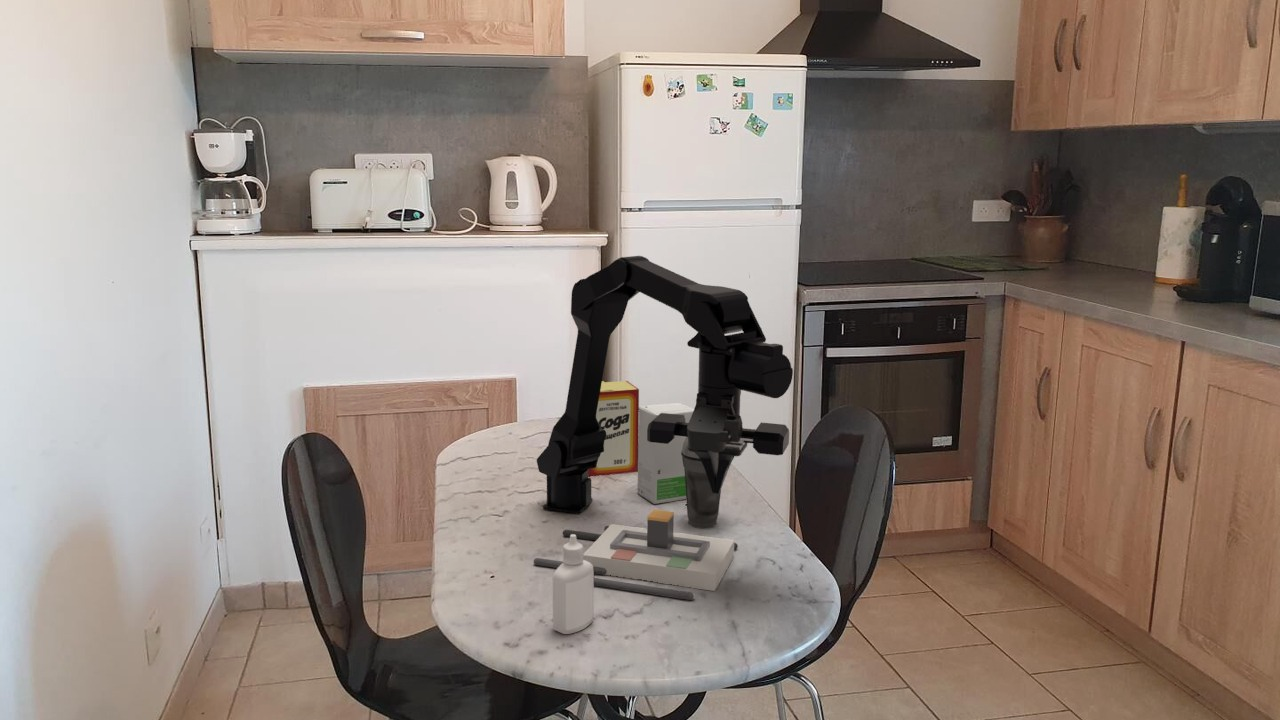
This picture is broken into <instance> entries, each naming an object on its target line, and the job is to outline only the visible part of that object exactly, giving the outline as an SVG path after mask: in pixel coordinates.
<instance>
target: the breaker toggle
mask: <svg viewBox="0 0 1280 720" xmlns="http://www.w3.org/2000/svg"><path fill="white" fill-rule="evenodd" d="M674 515H675V513H674V511H669V510H668V511H667V510H660V509H652V511H651V512H650V513H649V514H648V515H647V519H646V521H647V523H646V524H647V528H646V529H647V546H648V547H655V548H662V549H670V548H671V547H672V545H673V532H674V525H675V524H674V523H675V522H674V517H675V516H674Z"/></svg>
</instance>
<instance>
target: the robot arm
mask: <svg viewBox="0 0 1280 720" xmlns="http://www.w3.org/2000/svg"><path fill="white" fill-rule="evenodd" d="M639 293H641V294H643V295H645V296H647V297H648V298H651V299H653V300H655V301H656V302H659V303H661V304H663V305H665V306H667V307H669V308H670V309H674V311H676V312H679V313H680V314H681V315H682V317H683V319H684V322H685V323H686V324H687V325H688V326H689V327H691V328H692V329H693V330H695V331H696V332H697V333H695V335H694V336H693V337H691V339H689V340H688V341H687V342H686V343H687V346H688V347H690V348H695V349H698V353H699V354H698V379H697V380H698V381H697V382H698V383H697V385H698V387H697V388H698V389H697V393H696V399H695V405H694V406H695V407H694V408H693V409H694V411H693V414H692V416H691V418H690V421H689V423H685V417H684V415H678V414H668V413H660V414H659V415H658V416H657V417H656V418H655V419H654V420H653V421H651V422H650V423H649V425H648V429H647V441H649V442H655V443H664V444H668V443H669V442H671V441H672V440H673V439H674V438H675V436H685V437H688V447H687V448H688V451H690V452H694V453H695V454H696V455H697V456H698V457H699V458H700V460H701V462H702V464H703V466H704V469H705V472H706V475H707V478H708V481H709V484H710V487H711V490H712V493H714V494H719V492H720V490H721V491H722V487H723V485H724V483H725V479H726V477H727V474H728V471H729V470H730V467H731V464H732V462H733V460H734V458H735V457H740V456H742V453H744V451H745V449H746V448H747V447H748V444H752V448H753V449H754V450H755V452H756V453H757V454H760V455H768V456H769V455H770V456H782V455H784V453H785V451H786V449H787V448H788V446H789V444H790V430H789V428H788V426H787V425H786V424H783V423H781V424H780V423H771V422H770V423H769V422H762V421H761V422H760V423H759V425H758V426H757V427H756V428H755V429H751V428H745V427H743V420H742V419H743V418H742V417H741V415H740V413H741V410H740V409H741V395H742V391H745V392H748V393H752V394H756V395H760V396H763V397H767V398H771V399H779V398H781V397H783V396H784V394H785V393H786V392H787V391H788V390H789V388H790V386H791V383H792V380H793V373H794V370H793V369H794V368H792V365H791V364H792V363H791V361H790V359H789V358H788V356H786V355H785V354H784V353H783V352H784V346H783V345H782V344H779V343H766V341H767V338H766V336H765V334H764V332H763V330H762V328H761V326H760V324H759V321H758V320H757V318H756V316H755V313H754V312H753V309H752V307H751V305H750V302H749V298H748V296H747V294H746V293H745V292H743V291H742V290H739V289H736V288H731V287H726V286H719V285H707V284H702V283H698V282H696V281H694V280H691V279H689V278H687V277H685V276H683V275H680V274H678V273H676V272H674V271H672V270H669V269H667V268H665V267H663V266H660V265H659V264H657V263H654V262H652V261H650V260H649V258H647V257H645V256H643V255H633V256H632V255H631V256H630V255H629V256H622V257H618V258H617V259H615V260H613V262H611V263H609V265H608V266H606V267H604V268H602V269H600V270H598V271H596V272H594V273H592V274H590V275H589V276H587V277H586V278H583V279H582V278H581V279H579V280H578V281H577V282H574V284H573V286H572V290H571V300H570V302H571V303H570V314H571V316H572V320H573V321H574V324H575V326H576V328H577V337H576V342H575V348H574V354H573V361H572V367H571V373H570V374H571V375H570V380H569V386H568V393H567V398H566V404H565V410H564V412H563V414H562V415H561V416H560V418H559V419H558V421H557V422H556V423H555V424H554V426H553V427H552V430H551V433H550V437H549V440H548V445H547V446H546V448H545V449H544V450H543V451H542V452H541V453H540V455H539V456H538V457H537V458H536V465H537V470H538V472H539V473H541V474H543V475H545V476H546V502H545V504H543V505H542V509H543V510H546V511H548V510H549V511H553V512H555V511H556V512H563V513H571V514H580V513H581V512H582V511H584V510H585V509H586V508H587V507H588V506H589V504H591V503H592V502H593V498H592V478H591V477H588V469H591V468H596V465H597V462H598V458H599V457H600V454H601V453H602V452H604V441H605V437H606V431H605V430H603V429H601V427H600V425H599V423H598V421H597V419H596V413H597V407H598V401H599V396H600V390H601V384H602V381H603V377H604V371H605V367H606V359H607V355H608V354H607V353H608V348H609V343H610V338H611V336H612V335H611V334H612V333H613V332H614V331H615V330H616V329H617V327H618V326H619V324H620V323H621V322H622V320H623V318H624V316H625V312H626V309H627V307H628V304H629V303H628V302H629V301H630V300H632V298H634V297H635V296H636V295H638V294H639ZM737 332H738V333H737ZM731 333H732V334H731ZM727 334H728V335H727ZM718 457H719V462H718Z"/></svg>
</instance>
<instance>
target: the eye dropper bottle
mask: <svg viewBox="0 0 1280 720" xmlns="http://www.w3.org/2000/svg"><path fill="white" fill-rule="evenodd" d="M568 540H569V541H568V542H567V543H565V544H564V545H563V546H562V549H563V551H562V552H563V553H562V555H563V556H562V557H563V561H562V562H563V563H562V564H561V565H560V566H559V567H558V568H555V571H554V572H553V575H552V629H553V630H554V631H555V632H558V633H560V634H562V635H571V634H575V633H577V632H580V631H581V630H584V629H586V628H587V627H589V626H590V624H592V623H593V621H594V618H595V614H594V613H595V606H594V605H595V604H594V601H595V599H594V598H595V595H594V594H595V585H594V578H595V576H594V575H595V574H594V573H593V565H592V564H591V563H590V562H588V561H585V560H583V554H584V546H583V544H582V543H580V542H579V541H578V538H576V535H575V534H572V535H570V537H569V539H568Z"/></svg>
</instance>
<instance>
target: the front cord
mask: <svg viewBox="0 0 1280 720" xmlns="http://www.w3.org/2000/svg"><path fill="white" fill-rule="evenodd" d="M563 562H564V561H562V560H561V561H560V560H555V559H554V560H553V559H547V558H541V557H535V558H534V559H533V564H534V565H535V566H541V567H546V568H547V567H548V568H555V569H557V568H558V567H559V566H560V565H561V564H562V563H563ZM593 573H594V575H595V574H596V575H602V576H606V575H605V574H606V569H605V568H601V567H594V566H593ZM594 587H601V588H602V587H603V588H609V589H614V590H615V589H616V590H622V591H623V590H624V591H629V592H634V593H635V592H636V593H640V594H641V593H642V594H649V595H656V596H661V597H668V598H673V599H675V598H676V599H681V600H688V601H691V600H694V598H695V594H694V593H693V592H691V591H685V590H680V589H679V590H677V589H671V588H666V587H657V586H651V585H644V584H638V583H631V582H625V581H617V580H610V579H605V578H598V577H594Z"/></svg>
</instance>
